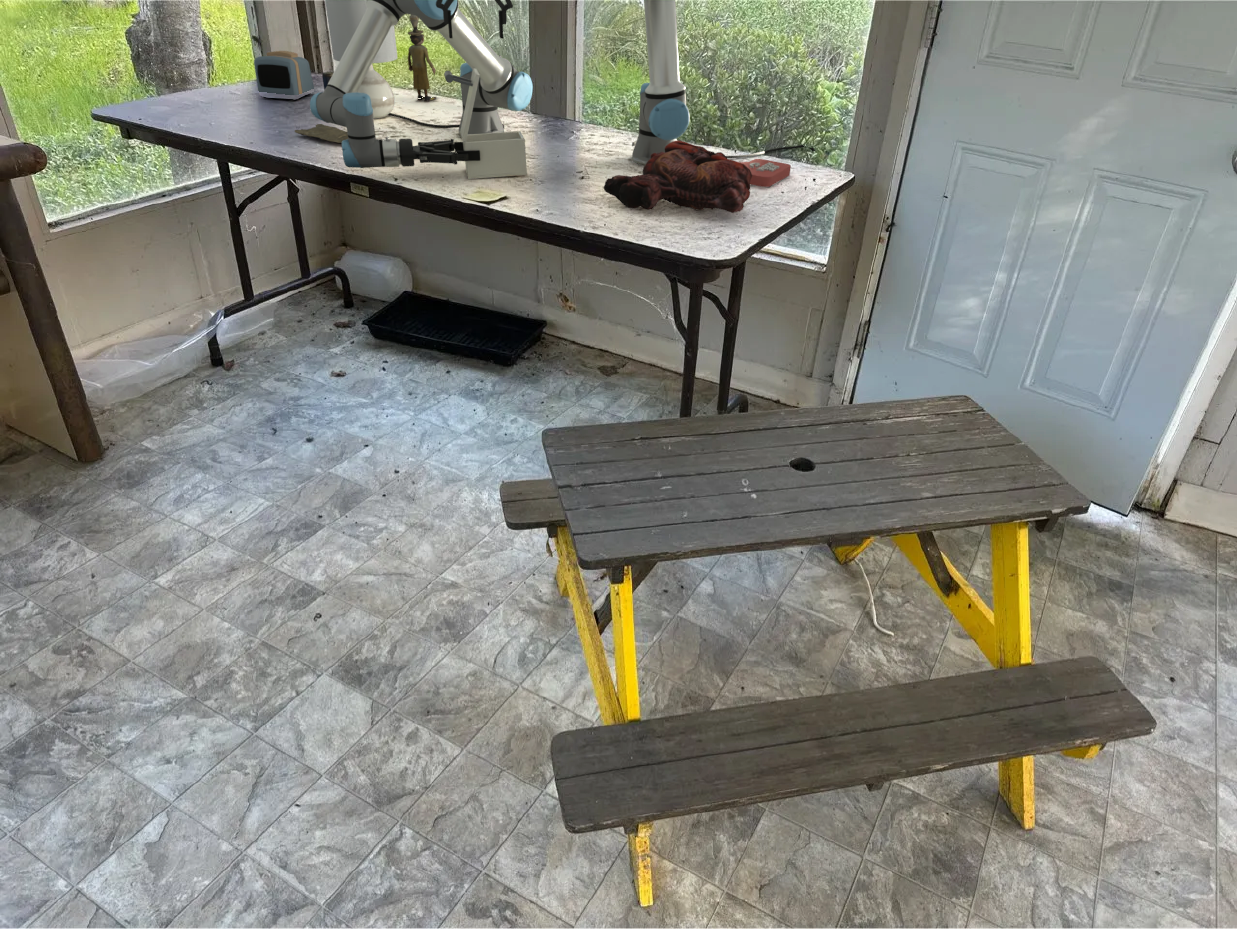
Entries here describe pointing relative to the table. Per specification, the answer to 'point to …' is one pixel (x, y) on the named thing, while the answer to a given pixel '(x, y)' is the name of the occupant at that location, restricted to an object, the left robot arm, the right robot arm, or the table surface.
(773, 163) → the plaque
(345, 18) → the lamp
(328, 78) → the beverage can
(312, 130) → the stone tool
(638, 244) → the table surface
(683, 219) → the table surface
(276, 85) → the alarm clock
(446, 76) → the lid
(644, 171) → the sculpture
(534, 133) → the table surface
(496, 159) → the chest
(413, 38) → the figurine
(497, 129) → the left robot arm
